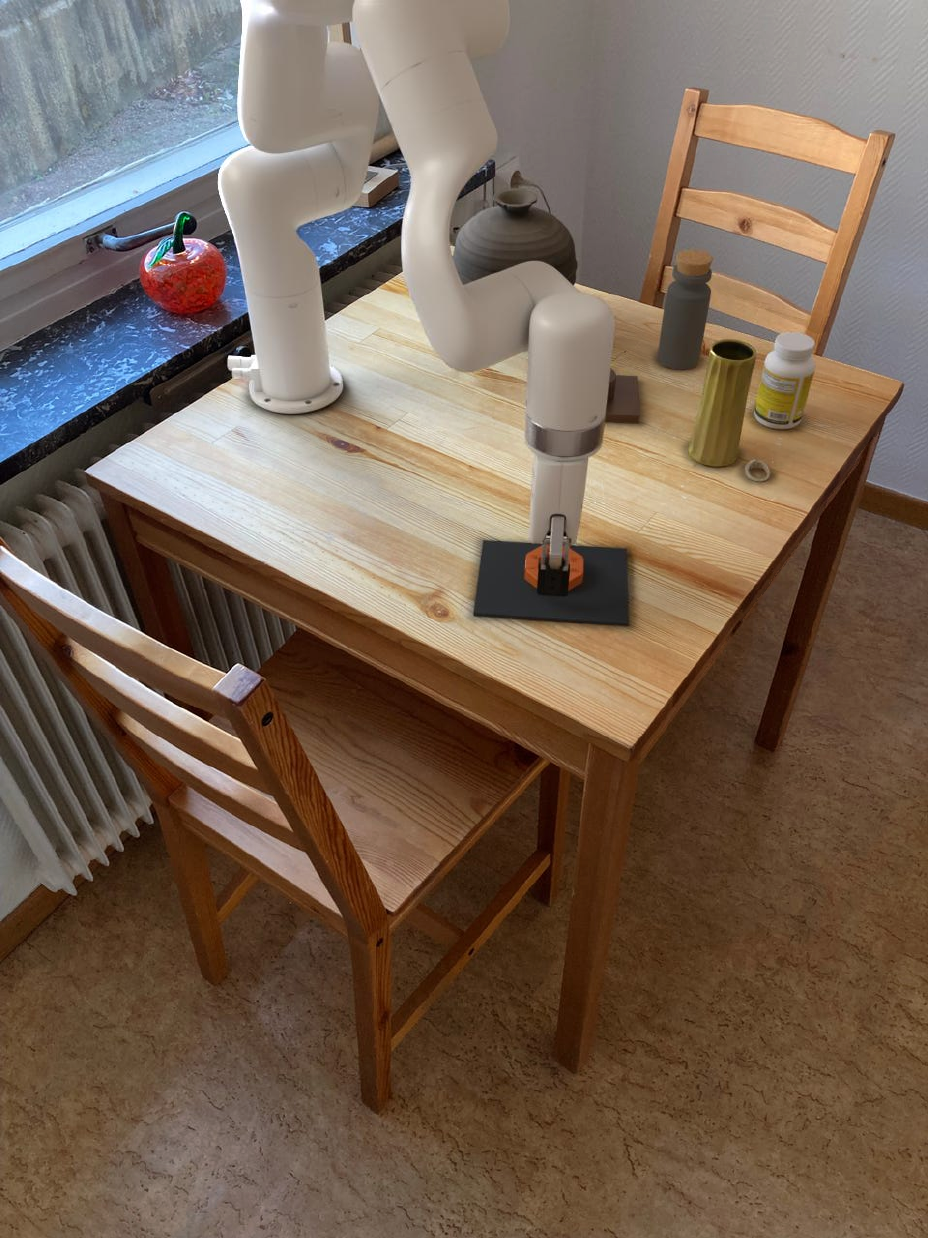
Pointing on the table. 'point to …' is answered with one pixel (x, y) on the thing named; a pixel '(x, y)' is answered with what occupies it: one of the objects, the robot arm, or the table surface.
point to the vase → (722, 403)
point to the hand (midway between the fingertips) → (553, 563)
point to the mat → (585, 603)
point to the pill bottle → (785, 381)
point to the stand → (622, 399)
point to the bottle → (686, 311)
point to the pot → (513, 238)
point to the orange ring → (535, 555)
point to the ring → (757, 465)
